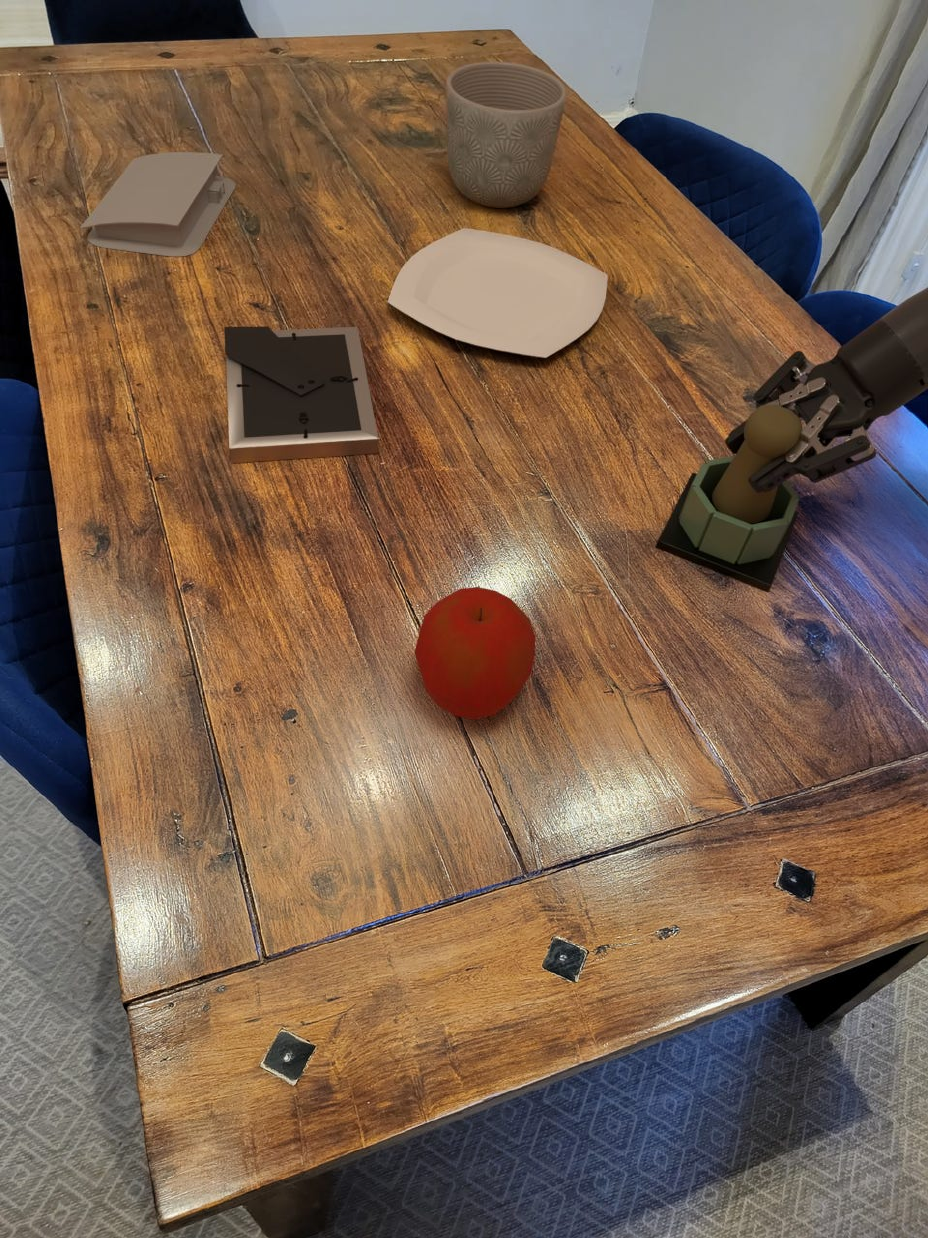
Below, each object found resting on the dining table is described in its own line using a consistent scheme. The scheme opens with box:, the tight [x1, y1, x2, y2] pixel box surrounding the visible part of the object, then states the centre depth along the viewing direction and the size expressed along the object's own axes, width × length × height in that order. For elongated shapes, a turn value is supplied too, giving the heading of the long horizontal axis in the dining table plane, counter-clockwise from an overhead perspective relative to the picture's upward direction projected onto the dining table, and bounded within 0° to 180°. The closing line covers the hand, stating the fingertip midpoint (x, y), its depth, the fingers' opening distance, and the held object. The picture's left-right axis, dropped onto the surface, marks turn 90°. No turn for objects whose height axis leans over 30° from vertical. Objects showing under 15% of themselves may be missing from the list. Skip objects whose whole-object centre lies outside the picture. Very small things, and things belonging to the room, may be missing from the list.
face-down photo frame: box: [224, 325, 380, 464], centre depth 100 cm, size 16×3×21 cm
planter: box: [445, 61, 568, 209], centre depth 128 cm, size 17×17×15 cm
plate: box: [387, 227, 609, 360], centre depth 115 cm, size 27×27×2 cm
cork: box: [712, 405, 804, 524], centre depth 85 cm, size 6×6×11 cm
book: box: [79, 151, 236, 258], centre depth 122 cm, size 15×23×4 cm, turn 173°
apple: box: [413, 586, 536, 720], centre depth 73 cm, size 10×10×12 cm
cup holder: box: [655, 455, 800, 593], centre depth 90 cm, size 12×12×6 cm
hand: (741, 466), depth 85 cm, fingers closed on cork, 5 cm apart
